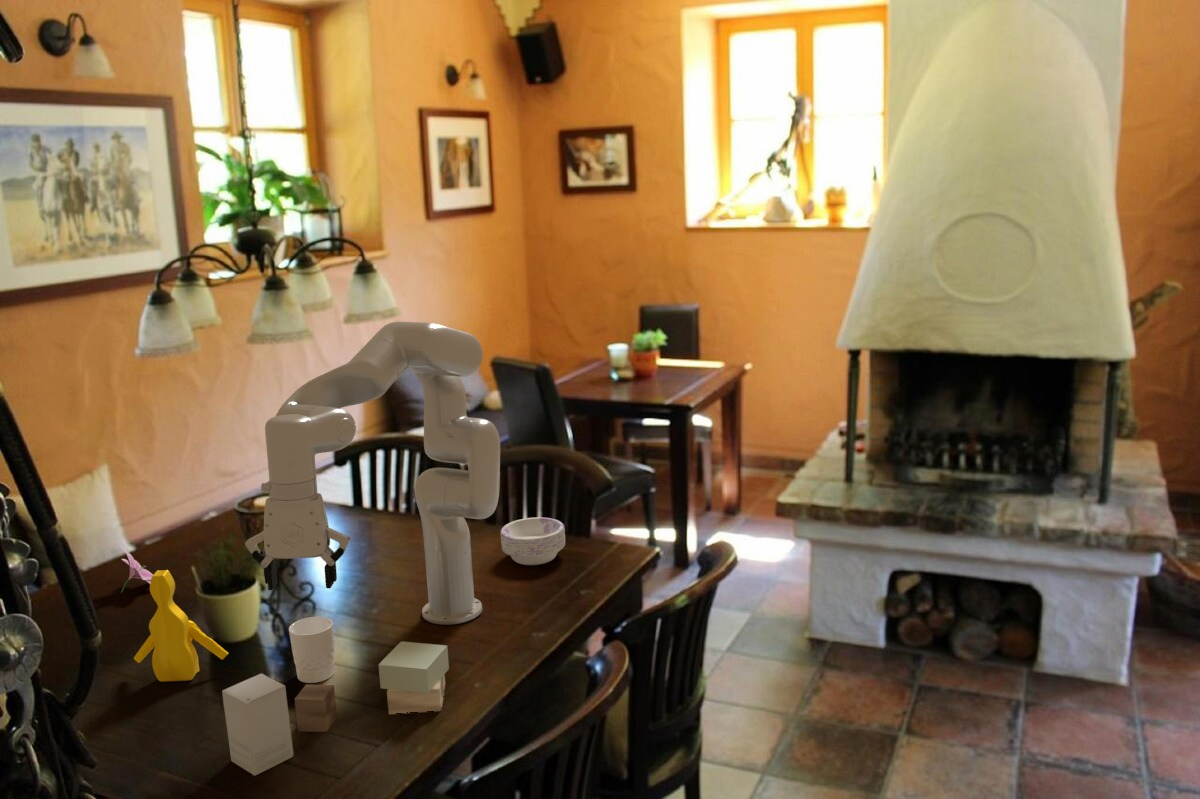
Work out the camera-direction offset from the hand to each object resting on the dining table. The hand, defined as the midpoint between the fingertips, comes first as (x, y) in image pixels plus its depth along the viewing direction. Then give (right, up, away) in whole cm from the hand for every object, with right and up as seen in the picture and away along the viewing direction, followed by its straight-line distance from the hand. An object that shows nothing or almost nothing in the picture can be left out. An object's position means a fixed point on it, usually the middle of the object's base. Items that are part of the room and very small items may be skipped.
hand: (301, 586), depth 177 cm
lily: (-55, -12, +63) cm, 84 cm away
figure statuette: (-29, -21, +20) cm, 41 cm away
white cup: (-3, -20, +19) cm, 28 cm away
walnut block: (+2, -24, +2) cm, 24 cm away
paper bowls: (+35, -6, +72) cm, 80 cm away
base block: (+18, -22, +8) cm, 30 cm away
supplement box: (-4, -27, -8) cm, 28 cm away
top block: (+18, -18, +7) cm, 26 cm away
